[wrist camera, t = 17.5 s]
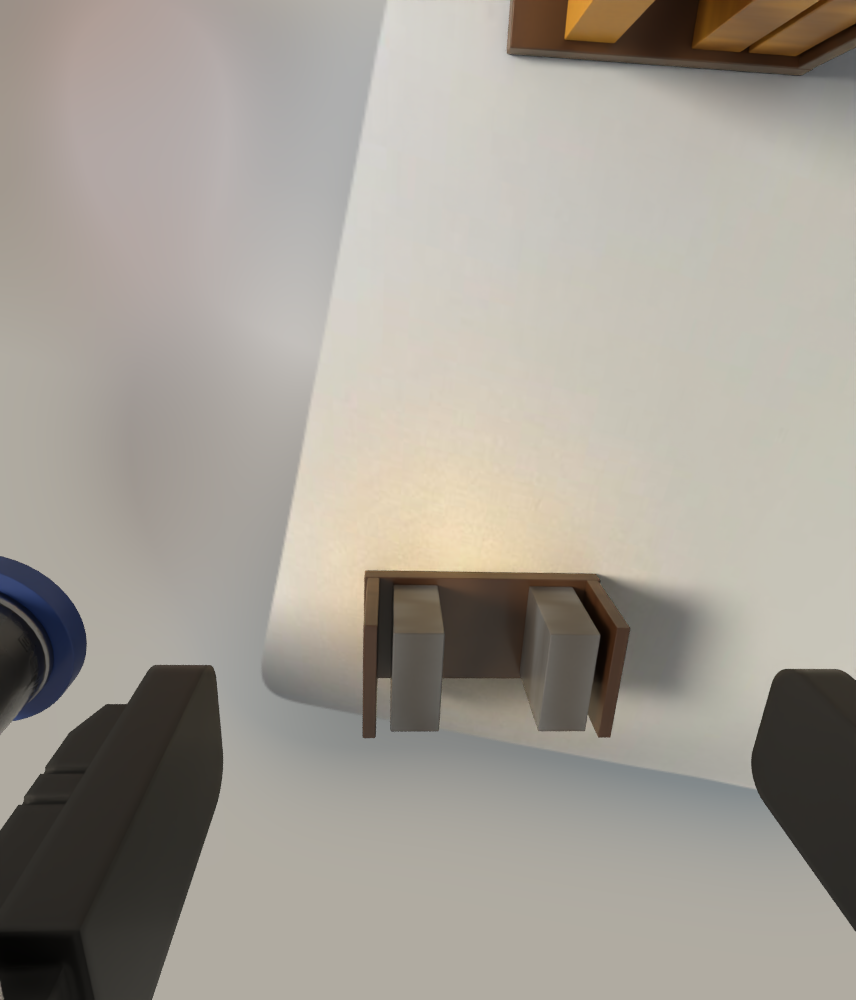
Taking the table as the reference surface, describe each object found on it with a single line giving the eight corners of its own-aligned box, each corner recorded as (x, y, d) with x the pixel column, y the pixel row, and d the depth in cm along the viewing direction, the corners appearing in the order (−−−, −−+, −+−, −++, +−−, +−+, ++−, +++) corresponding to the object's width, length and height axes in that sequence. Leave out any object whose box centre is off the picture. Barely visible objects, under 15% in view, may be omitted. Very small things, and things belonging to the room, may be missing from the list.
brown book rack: (364, 669, 44) (359, 738, 37) (364, 570, 41) (359, 625, 35) (581, 670, 45) (613, 737, 38) (596, 573, 42) (633, 627, 36)
